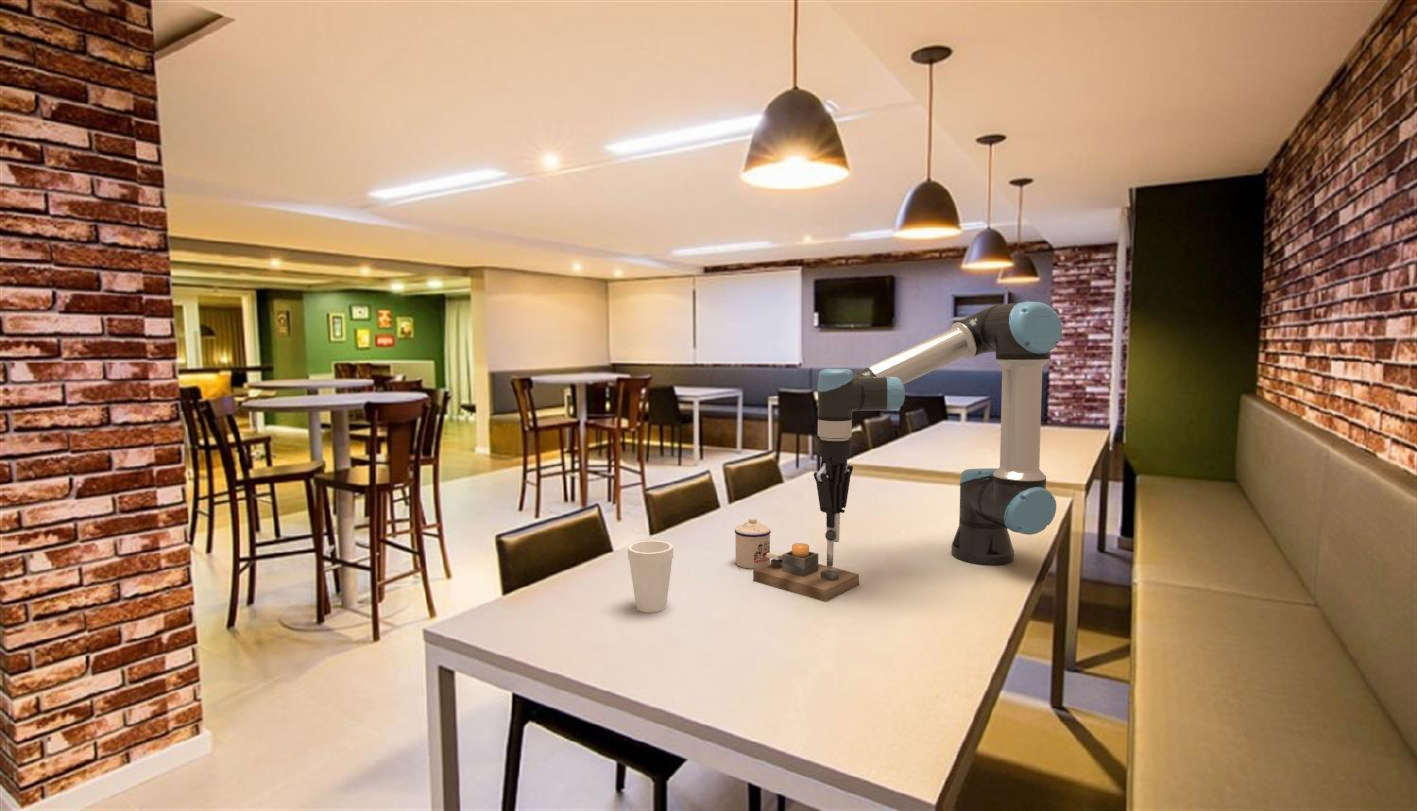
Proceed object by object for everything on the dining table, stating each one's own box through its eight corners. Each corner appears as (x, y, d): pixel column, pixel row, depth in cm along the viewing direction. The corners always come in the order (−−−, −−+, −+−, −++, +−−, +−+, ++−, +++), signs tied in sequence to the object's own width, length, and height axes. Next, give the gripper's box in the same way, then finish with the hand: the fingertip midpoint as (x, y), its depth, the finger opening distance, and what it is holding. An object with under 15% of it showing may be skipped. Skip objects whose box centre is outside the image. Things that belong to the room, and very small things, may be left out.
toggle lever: (837, 568, 156) (838, 530, 155) (831, 570, 154) (832, 532, 153) (828, 566, 157) (829, 528, 157) (822, 568, 155) (823, 530, 155)
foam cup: (638, 618, 140) (637, 556, 139) (622, 603, 148) (621, 544, 147) (680, 610, 144) (680, 549, 143) (663, 596, 152) (662, 538, 151)
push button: (812, 558, 161) (812, 545, 161) (802, 562, 158) (802, 549, 158) (798, 554, 164) (798, 542, 163) (788, 558, 161) (788, 545, 160)
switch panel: (859, 584, 159) (859, 557, 158) (825, 601, 148) (826, 572, 148) (788, 566, 172) (788, 540, 172) (753, 580, 162) (753, 553, 161)
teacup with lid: (758, 572, 168) (758, 525, 167) (727, 565, 173) (727, 519, 172) (782, 559, 178) (783, 515, 177) (752, 553, 183) (752, 510, 182)
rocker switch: (792, 558, 166) (793, 554, 166) (777, 560, 162) (777, 555, 162) (782, 555, 168) (782, 551, 168) (766, 557, 164) (766, 552, 164)
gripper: (835, 433, 161) (833, 531, 164) (804, 439, 152) (803, 543, 154) (863, 436, 156) (861, 537, 159) (833, 443, 147) (831, 550, 149)
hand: (832, 540), depth 157 cm, fingers closed
